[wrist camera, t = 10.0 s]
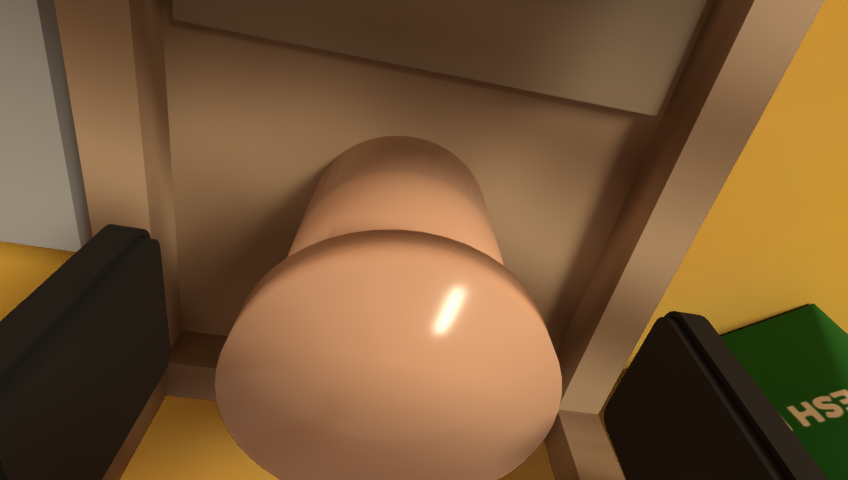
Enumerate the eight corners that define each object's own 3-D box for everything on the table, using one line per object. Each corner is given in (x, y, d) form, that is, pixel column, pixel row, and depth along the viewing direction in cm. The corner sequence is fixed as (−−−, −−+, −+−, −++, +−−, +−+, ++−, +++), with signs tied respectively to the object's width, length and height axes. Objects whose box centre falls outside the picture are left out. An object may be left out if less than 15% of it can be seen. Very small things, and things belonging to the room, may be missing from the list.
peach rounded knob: (471, 311, 16) (507, 518, 10) (291, 285, 16) (216, 491, 10) (524, 143, 13) (616, 294, 7) (305, 101, 13) (211, 233, 7)
